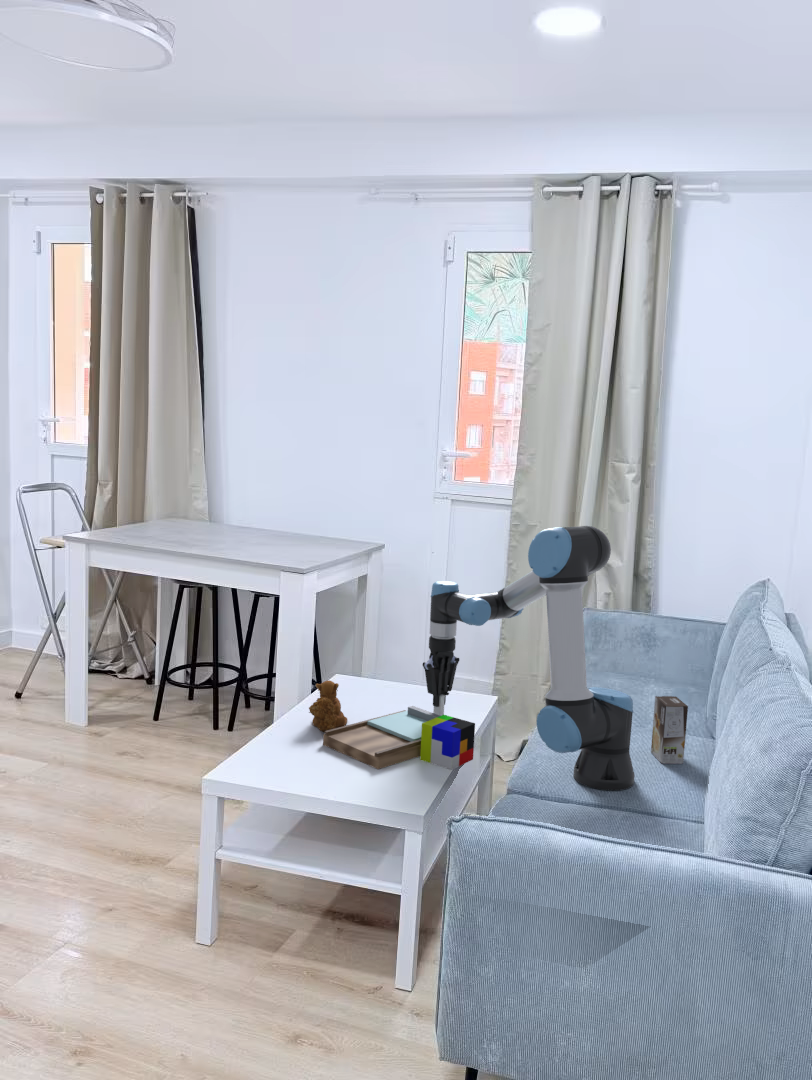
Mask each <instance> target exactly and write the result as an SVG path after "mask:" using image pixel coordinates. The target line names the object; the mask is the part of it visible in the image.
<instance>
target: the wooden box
mask: <svg viewBox="0 0 812 1080" xmlns="http://www.w3.org/2000/svg"><path fill="white" fill-rule="evenodd" d="M403 711H407V710H405V709H403V710H400V711H396V712H393V713H388V714H386V715H385V714H384V715H381V716H377V717H373V718H369V719H367V720H362V721H359V722H355V723H351V724H346V725H345V726H343V727H339V728H335V729H331V730H327V731H325V732H324V734H322V735H323V736H322V737H323V738H322V742H323V743H322V745H323V746H325V747H327V748H329V749H331V750H334V751H336V752H338V753H340V754H343V755H345V756H347V757H350V758H352V759H354V760H356V761H358V762H360V763H362V764H364V765H367V766H369V767H372V768H374V769H377V770H381V769H383V768H386V767H389V766H393V765H396V764H400V763H403V762H407V761H409V760H412V759H416V758H419V757H420V753H421V739H419V740H415V741H412V742H410V741H408V740H405V739H403V738H400V737H398V736H395V735H393V734H390V733H388V732H385V731H383V730H380V729H378V728H375V727H373V726H370V725H368V724H367V723H368V721H369V720H373V719H377V718H381V717H384V716H388V715H392V714H396V713H400V712H403Z"/></svg>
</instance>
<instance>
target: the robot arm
mask: <svg viewBox="0 0 812 1080" xmlns="http://www.w3.org/2000/svg"><path fill="white" fill-rule="evenodd" d="M611 550H612V549H611V542H610V540H609V538H608V537H607V535H606V534H605V533H604V532H603V531H602V530H600V529H599V528H597V527H594V526H590V525H579V526H563V527H562V526H561V527H558V526H555V527H550V528H545V529H543V530H541V531H539V532H538V533H537V534H536V535H535V536H534V538H533V539H532V540H531V542H530V544H529V547H528V552H527V559H528V565H529V567H530V569H532V570H531V571H529V572H528V573H526V574H524V575H523V576H521V577H520V578H518V579H516V580H515V581H513V582H511V583H509V584H508V585H507V586H505V587H503V588H501V589H500V590H498V591H495V592H487V593H478V594H465V593H462V592H459V591H460V590H459V584H458V583H457V582H456V581H450V580H438V581H434V582H433V584H432V585H431V595H430V612H429V613H430V617H429V636H428V637H429V638H428V649H429V650H430V653H429V655H428V660H427V661H424V662H423V663H422V667H423V669H424V674H425V681H426V689H427V693H428V694H430V695H432V706H433V711H432V713H434V714H437V715H440V716H442V715H445V705H446V701H447V700H446V699H447V696H449V694H450V692H451V691H452V689H453V685H454V681H455V680H454V679H455V675H456V672H457V667H458V664H459V662H460V657H457V656H455V653H454V651H455V650H456V641H457V638H456V636H457V622H458V621H459V622H461V623H464V624H466V625H469V626H475V627H480V626H484V625H485V624H486V623H487V622H488V621H493V620H494V621H495V620H501V619H502V620H503V619H511V618H514V617H518V616H519V615H521V614H522V612H523V610H524V608H526V607H528V606H530V605H531V604H533V603H535V602H536V601H539V600H540V599H542V598H544V597H545V596H546V613H547V615H546V616H547V630H548V631H547V633H548V635H547V637H548V652H549V672H550V689H549V691H548V692H547V693H546V694H545V695H544V697H545V699H544V700H545V706H544V707H542V708H541V709H540V711H539V712H538V714H537V716H536V728H537V732H538V735H539V738H541V741H542V742H543V743H544V744H545V745H546V746H547V748H548V749H550V751H553V752H555V753H558V754H566V753H574V752H575V753H576V752H577V751H579V753H578V757H577V759H576V761H575V763H574V766H573V779H574V780H575V781H576V782H578V783H579V784H582V785H583V786H586V787H588V788H592V789H597V790H602V791H623V790H627V789H630V788H631V787H633V786H634V785H635V771H634V767H633V763H632V759H631V755H630V747H631V735H632V723H633V715H634V714H633V713H634V709H633V708H634V700H633V698H632V697H631V695H629V694H627V693H625V692H623V691H620V690H616V689H613V688H612V689H611V688H606V687H600V686H594V687H593V686H592V687H589V688H588V684H587V683H588V682H587V668H586V666H587V665H586V664H587V663H586V644H585V625H584V606H583V601H584V600H583V589H584V587H585V586H586V585H587V584H588V582H589V578H588V577H590V576H591V575H593V574H594V573H596V572H598V571H601V570H602V569H603V568H604V567H605V566H606V565H607V564H608V562H609V560H610V557H611V555H612V554H611V553H612V551H611Z"/></svg>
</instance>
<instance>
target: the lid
mask: <svg viewBox="0 0 812 1080" xmlns="http://www.w3.org/2000/svg"><path fill="white" fill-rule="evenodd" d="M402 711H403V710H402ZM399 712H400V711H399ZM395 713H396V712H395ZM391 714H392V713H391ZM387 715H388V714H387ZM383 716H384V715H383ZM439 716H440V715H437V714H434V713H433V711H429V710H425V709H423V708H420V707H418V706H416V705H415V706H414V705H409V706H408V707H407V710H406V711H403V712H400V713H396V714H392V715H388V716H384V717H381V716H380V717H381V718H377V717H376V718H377V719H373V718H372V719H373V720H369V719H368V720H369V721H368V723H367V724H368V725H370V726H373V727H375V728H378V729H380V730H383V731H385V732H388V733H390V734H393V735H395V736H398V737H400V738H403V739H405V740H408V741H410V742H412V741H415V740H419V739H421V733H422V723H424V722H427V721H429V720H432V719H434V718H437V717H439Z"/></svg>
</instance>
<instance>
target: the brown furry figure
mask: <svg viewBox="0 0 812 1080" xmlns="http://www.w3.org/2000/svg"><path fill="white" fill-rule="evenodd" d="M339 686H340V685H339V683H335V682H334V681H332V680H330V679H329V680H325V681H322V682H321V683H315V687H316V689H317V692H319V697H318V698H316V700H315V701H314V702H313V703H312V704H311V705H310V706H309V707H308V710H309V712H308V713H309V714H311V715H312V716H313V717H312V726H313V727H315V728H317V729H318V731H320V732H322V733H325V731H327V730H331V729H335V728H339V727H343V726H346V725H348V724H347V723H348V717H347V716H345V715H344V712H342V711H341V710H342V703H341V701H340V700H339V698H338V697H337V695H338V693H337V692H338V688H339Z"/></svg>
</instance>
